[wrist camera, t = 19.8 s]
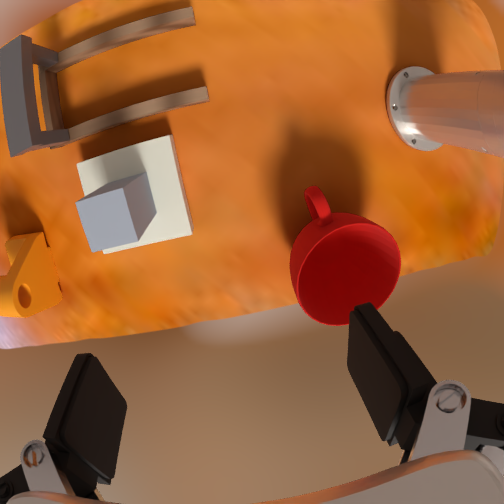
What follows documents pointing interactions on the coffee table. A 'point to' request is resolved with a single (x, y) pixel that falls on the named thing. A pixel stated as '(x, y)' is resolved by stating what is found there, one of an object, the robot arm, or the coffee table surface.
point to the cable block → (117, 212)
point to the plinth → (160, 179)
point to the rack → (105, 43)
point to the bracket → (29, 277)
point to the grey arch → (25, 96)
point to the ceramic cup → (341, 262)
